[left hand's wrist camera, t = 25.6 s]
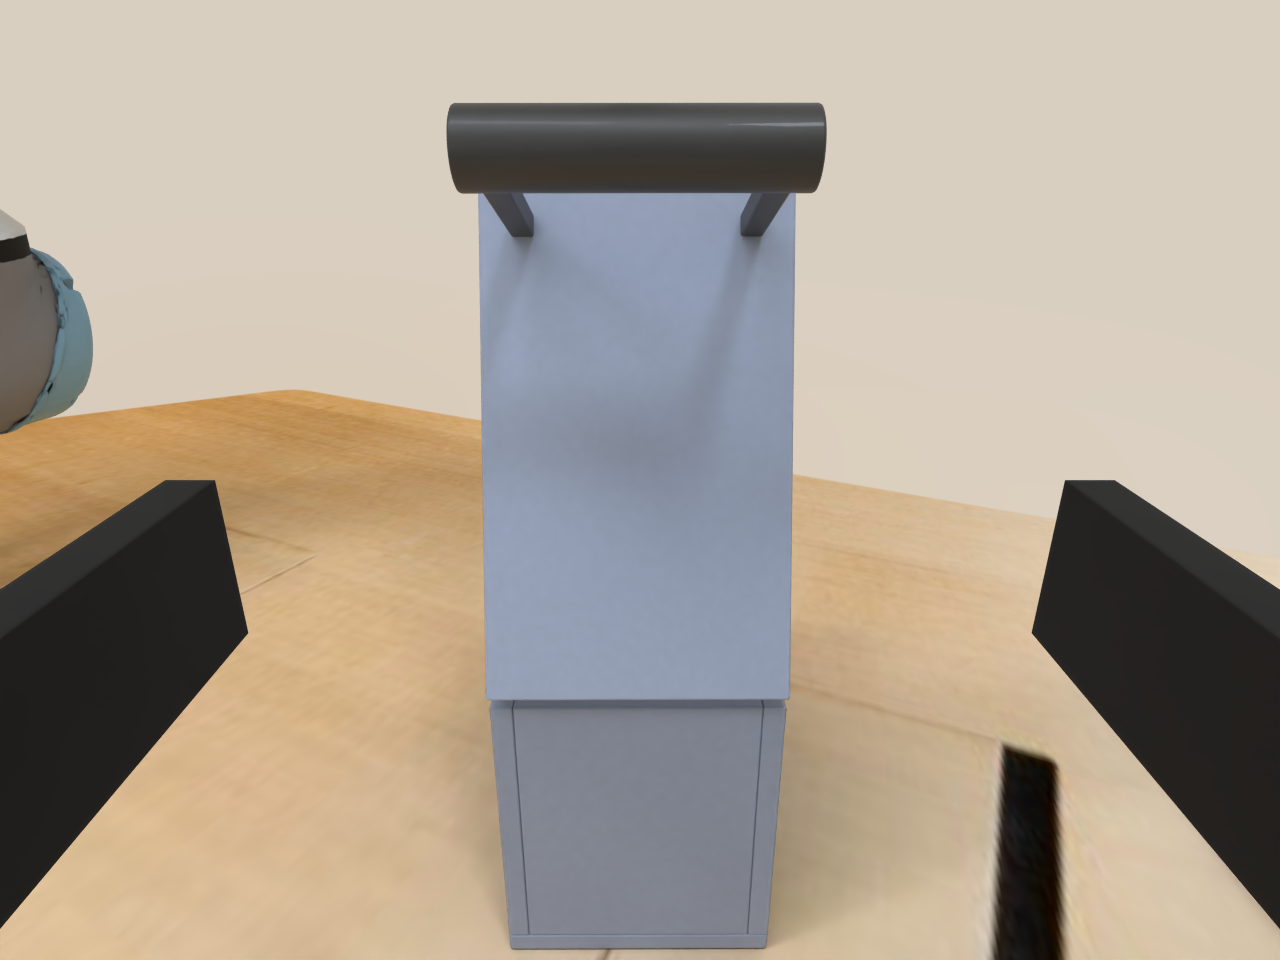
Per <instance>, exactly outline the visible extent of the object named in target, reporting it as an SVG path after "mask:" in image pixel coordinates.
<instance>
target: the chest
mask: <svg viewBox="0 0 1280 960" xmlns="http://www.w3.org/2000/svg"><path fill="white" fill-rule="evenodd" d="M785 718H786V705H785V701H784V700H492V702H491V706H490V719H491V730H492V741H493V753H494V764H495V775H496V787H497V798H498V809H499V821H500V832H501V843H502V855H503V866H504V877H505V889H506V900H507V911H508V923H509V933H510V945H511V948H512V949H606V948H765V947H766V943H767V932H768V921H769V909H770V897H771V885H772V873H773V861H774V849H775V838H776V826H777V814H778V802H779V790H780V778H781V766H782V754H783V742H784V730H785Z"/></svg>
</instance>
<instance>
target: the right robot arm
mask: <svg viewBox="0 0 1280 960" xmlns="http://www.w3.org/2000/svg"><path fill="white" fill-rule="evenodd" d="M92 358H93V340H92V330H91V325H90V320H89V316H88V312H87V309H86V306H85V303H84V301H83V298H82V296H81V294H80V292H78V291H75V290H73V279H72V277H71V276H70V274H69V273H68V272H67V270H66V269H65V268H64V267H63V266H62V265H61V264H60V263H59V262H58V261H57V260H55V259H54V258H53V257H51V256H50V255H48V254H46V253H44V252H41V251H37V250H35V249H33V248H30V247H29V242H28V239H27V234H26V230H25V227H24V226H23V225H22V224H20V223H19V222H18V221H16V220H15V219H13V218H12V217H10V216H9V215H8V214H6V213H5V212H3V211H2V210H0V434H5V433H8V432H13V431H15V430H17V429H19V428H21V427H22V426H24V425H27V424H30V423H33V422H36V421H40V420H43V419H47V418H50V417H53V416H56V415H58V414H60V413H62V412H64V411H65V410H67V409H68V408H69V407H71V406H72V405H73V404H74V402H75V401H76V399H77V398H78V396H79V395H80V394H81V393H82V392H83V390H84V389H85V386H86V384H87V381H88V378H89V375H90V371H91V366H92Z"/></svg>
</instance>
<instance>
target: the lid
mask: <svg viewBox="0 0 1280 960" xmlns="http://www.w3.org/2000/svg"><path fill="white" fill-rule="evenodd" d="M826 135H827V128H826V116H825V111H824V107H823V105H822V104H820V103H454V104H452V105H451V106H450V108H449V112H448V117H447V150H448V159H449V165H450V171H451V175H452V179H453V182H454V185H455V187H456V189H457V191H458V192H460V193H478V206H479V272H480V338H481V403H482V470H483V536H484V602H485V668H486V699H487V700H787V699H789V698H790V642H791V555H792V467H793V381H794V380H793V379H794V294H795V293H794V292H795V206H796V193H813V192H815V191H816V189H817V187H818V185H819V183H820V180H821V176H822V172H823V167H824V160H825V152H826Z"/></svg>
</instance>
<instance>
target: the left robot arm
mask: <svg viewBox="0 0 1280 960" xmlns="http://www.w3.org/2000/svg"><path fill="white" fill-rule="evenodd" d="M247 634H248V629H247V625H246V620H245V616H244V611H243V607H242V602H241V597H240V593H239V588H238V584H237V579H236V575H235V570H234V565H233V561H232V556H231V552H230V547H229V542H228V538H227V533H226V529H225V524H224V520H223V515H222V510H221V506H220V501H219V497H218V492H217V488H216V483H215V480H165V481H164V482H162V483H161V484H159V485H157V486H156V487H154V488H153V489H151V490H150V491H148V492H147V493H145V494H144V495H142V496H141V497H139V498H138V499H136V500H135V501H133V502H132V503H130V504H129V505H127V506H126V507H124V508H123V509H121V510H120V511H118V512H117V513H115V514H114V515H112V516H111V517H109V518H108V519H106V520H105V521H103V522H102V523H100V524H99V525H97V526H96V527H94V528H93V529H91V530H90V531H88V532H87V533H85V534H83V535H82V536H80V537H79V538H77V539H76V540H74V541H73V542H71V543H70V544H68V545H67V546H65V547H64V548H62V549H61V550H59V551H58V552H56V553H55V554H53V555H52V556H50V557H49V558H47V559H46V560H44V561H43V562H41V563H40V564H38V565H37V566H35V567H34V568H32V569H31V570H29V571H28V572H26V573H25V574H23V575H22V576H20V577H19V578H17V579H16V580H14V581H13V582H11V583H9V584H8V585H6V586H5V587H3V588H2V589H0V928H1V927H2V926H3V925H4V924H5V922H6V921H7V920H8V919H9V918H10V916H11V915H12V914H13V913H14V912H15V911H16V909H17V908H18V907H19V906H20V905H21V903H22V902H23V901H24V900H25V899H26V897H27V896H28V895H29V894H30V893H31V891H32V890H33V889H34V888H35V887H36V885H37V884H38V883H39V882H40V881H41V880H42V878H43V877H44V876H45V875H46V874H47V872H48V871H49V870H50V869H51V868H52V866H53V865H54V864H55V863H56V862H57V860H58V859H59V858H60V857H61V856H62V854H63V853H64V852H65V851H66V850H67V849H68V847H69V846H70V845H71V844H72V843H73V841H74V840H75V839H76V838H77V837H78V835H79V834H80V833H81V832H82V831H83V829H84V828H85V827H86V826H87V825H88V823H89V822H90V821H91V820H92V819H93V818H94V816H95V815H96V814H97V813H98V812H99V810H100V809H101V808H102V807H103V806H104V804H105V803H106V802H107V801H108V800H109V798H110V797H111V796H112V795H113V794H114V792H115V791H116V790H117V789H118V788H119V787H120V785H121V784H122V783H123V782H124V781H125V779H126V778H127V777H128V776H129V775H130V773H131V772H132V771H133V770H134V769H135V767H136V766H137V765H138V764H139V763H140V761H141V760H142V759H143V758H144V757H145V756H146V754H147V753H148V752H149V751H150V750H151V748H152V747H153V746H154V745H155V744H156V742H157V741H158V740H159V739H160V738H161V736H162V735H163V734H164V733H165V732H166V730H167V729H168V728H169V727H170V726H171V725H172V723H173V722H174V721H175V720H176V719H177V717H178V716H179V715H180V714H181V713H182V711H183V710H184V709H185V708H186V707H187V705H188V704H189V703H190V702H191V701H192V699H193V698H194V697H195V696H196V695H197V694H198V692H199V691H200V690H201V689H202V688H203V686H204V685H205V684H206V683H207V682H208V680H209V679H210V678H211V677H212V676H213V674H214V673H215V672H216V671H217V670H218V669H219V667H220V666H221V665H222V664H223V663H224V661H225V660H226V659H227V658H228V657H229V655H230V654H231V653H232V652H233V651H234V649H235V648H236V647H237V646H238V645H239V643H240V642H241V641H242V640H243V639H244V638H245V636H246V635H247ZM1032 634H1033V635H1034V636H1035V638H1036V639H1037V640H1038V641H1039V642H1040V643H1041V645H1042V646H1043V647H1044V648H1045V649H1046V651H1047V652H1048V653H1049V654H1050V655H1051V657H1052V658H1053V659H1054V660H1055V661H1056V663H1057V664H1058V665H1059V666H1060V667H1061V669H1062V670H1063V671H1064V672H1065V673H1066V674H1067V676H1068V677H1069V678H1070V679H1071V680H1072V682H1073V683H1074V684H1075V685H1076V686H1077V688H1078V689H1079V690H1080V691H1081V692H1082V694H1083V695H1084V696H1085V697H1086V698H1087V699H1088V701H1089V702H1090V703H1091V704H1092V705H1093V707H1094V708H1095V709H1096V710H1097V711H1098V713H1099V714H1100V715H1101V716H1102V717H1103V719H1104V720H1105V721H1106V722H1107V723H1108V725H1109V726H1110V727H1111V728H1112V729H1113V730H1114V732H1115V733H1116V734H1117V735H1118V736H1119V738H1120V739H1121V740H1122V741H1123V742H1124V744H1125V745H1126V746H1127V747H1128V748H1129V750H1130V751H1131V752H1132V753H1133V754H1134V756H1135V757H1136V758H1137V759H1138V760H1139V761H1140V763H1141V764H1142V765H1143V766H1144V767H1145V769H1146V770H1147V771H1148V772H1149V773H1150V775H1151V776H1152V777H1153V778H1154V779H1155V781H1156V782H1157V783H1158V784H1159V785H1160V787H1161V788H1162V789H1163V790H1164V791H1165V792H1166V794H1167V795H1168V796H1169V797H1170V798H1171V800H1172V801H1173V802H1174V803H1175V804H1176V806H1177V807H1178V808H1179V809H1180V810H1181V812H1182V813H1183V814H1184V815H1185V816H1186V818H1187V819H1188V820H1189V821H1190V822H1191V823H1192V825H1193V826H1194V827H1195V828H1196V829H1197V831H1198V832H1199V833H1200V834H1201V835H1202V837H1203V838H1204V839H1205V840H1206V841H1207V843H1208V844H1209V845H1210V846H1211V847H1212V849H1213V850H1214V851H1215V852H1216V853H1217V854H1218V856H1219V857H1220V858H1221V859H1222V860H1223V862H1224V863H1225V864H1226V865H1227V866H1228V868H1229V869H1230V870H1231V871H1232V872H1233V874H1234V875H1235V876H1236V877H1237V878H1238V880H1239V881H1240V882H1241V883H1242V884H1243V885H1244V887H1245V888H1246V889H1247V890H1248V891H1249V893H1250V894H1251V895H1252V896H1253V897H1254V899H1255V900H1256V901H1257V902H1258V903H1259V905H1260V906H1261V907H1262V908H1263V909H1264V911H1265V912H1266V913H1267V914H1268V915H1269V916H1270V918H1271V919H1272V920H1273V921H1274V922H1275V924H1276V925H1277V926H1278V927H1279V928H1280V589H1278V588H1277V587H1275V586H1274V585H1272V584H1271V583H1269V582H1267V581H1266V580H1264V579H1263V578H1261V577H1260V576H1258V575H1257V574H1255V573H1254V572H1252V571H1251V570H1249V569H1248V568H1246V567H1245V566H1243V565H1242V564H1240V563H1239V562H1237V561H1236V560H1234V559H1233V558H1231V557H1230V556H1228V555H1227V554H1225V553H1224V552H1222V551H1221V550H1219V549H1218V548H1216V547H1215V546H1213V545H1212V544H1210V543H1209V542H1207V541H1206V540H1204V539H1202V538H1201V537H1199V536H1198V535H1197V534H1195V533H1193V532H1192V531H1190V530H1189V529H1187V528H1186V527H1184V526H1183V525H1181V524H1180V523H1178V522H1177V521H1175V520H1174V519H1172V518H1171V517H1169V516H1168V515H1166V514H1165V513H1163V512H1162V511H1160V510H1159V509H1157V508H1156V507H1154V506H1153V505H1151V504H1150V503H1148V502H1147V501H1145V500H1144V499H1142V498H1141V497H1139V496H1138V495H1136V494H1135V493H1133V492H1132V491H1130V490H1129V489H1127V488H1126V487H1124V486H1122V485H1121V484H1119V483H1118V482H1116V481H1115V480H1065V483H1064V488H1063V492H1062V497H1061V501H1060V506H1059V510H1058V515H1057V520H1056V524H1055V529H1054V533H1053V538H1052V542H1051V547H1050V552H1049V556H1048V561H1047V565H1046V570H1045V575H1044V579H1043V584H1042V588H1041V593H1040V597H1039V602H1038V607H1037V611H1036V616H1035V620H1034V625H1033V629H1032Z"/></svg>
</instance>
